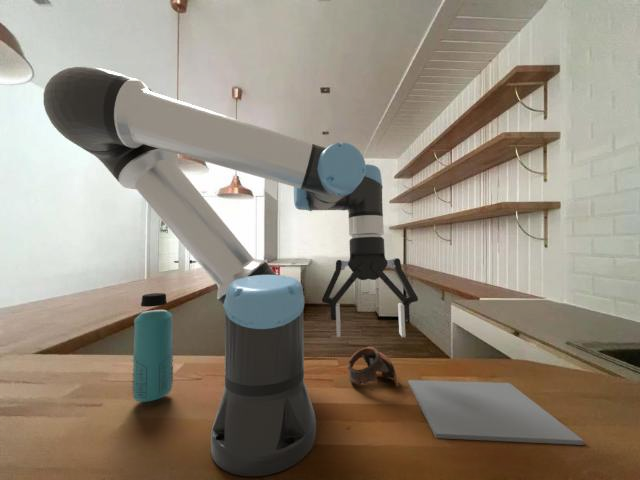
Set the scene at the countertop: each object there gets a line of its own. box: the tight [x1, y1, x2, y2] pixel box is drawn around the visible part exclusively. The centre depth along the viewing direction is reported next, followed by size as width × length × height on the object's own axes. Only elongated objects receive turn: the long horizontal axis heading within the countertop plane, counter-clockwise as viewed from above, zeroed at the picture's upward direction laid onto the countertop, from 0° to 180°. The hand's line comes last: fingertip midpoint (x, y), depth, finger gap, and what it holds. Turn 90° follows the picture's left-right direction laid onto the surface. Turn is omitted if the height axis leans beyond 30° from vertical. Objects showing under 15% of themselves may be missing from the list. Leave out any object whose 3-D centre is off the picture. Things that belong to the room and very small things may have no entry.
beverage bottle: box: [131, 292, 174, 403], centre depth 51 cm, size 6×7×20 cm
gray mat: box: [407, 379, 585, 446], centre depth 47 cm, size 20×17×1 cm
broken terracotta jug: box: [347, 345, 399, 388], centre depth 57 cm, size 12×10×8 cm
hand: (370, 335), depth 58 cm, fingers open, 13 cm apart
